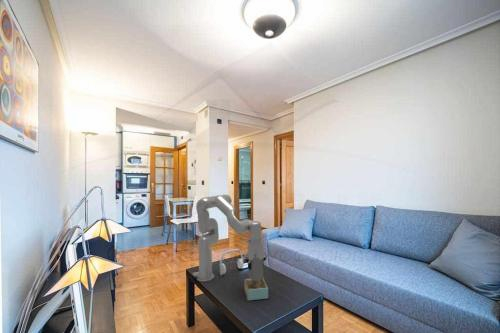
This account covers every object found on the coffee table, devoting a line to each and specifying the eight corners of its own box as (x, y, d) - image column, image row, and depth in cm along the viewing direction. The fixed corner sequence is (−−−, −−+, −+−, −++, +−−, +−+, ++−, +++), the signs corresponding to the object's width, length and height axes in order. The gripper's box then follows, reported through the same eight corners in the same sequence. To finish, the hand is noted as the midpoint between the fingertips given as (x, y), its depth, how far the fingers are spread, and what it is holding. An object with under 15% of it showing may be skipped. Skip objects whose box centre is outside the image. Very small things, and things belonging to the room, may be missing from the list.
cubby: (247, 300, 132) (247, 289, 133) (244, 289, 145) (244, 279, 145) (267, 298, 135) (267, 287, 135) (263, 287, 147) (263, 277, 147)
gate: (247, 300, 131) (247, 290, 131) (247, 299, 132) (247, 289, 132) (268, 298, 134) (268, 288, 134) (267, 297, 135) (267, 287, 135)
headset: (222, 277, 161) (222, 253, 161) (218, 274, 167) (217, 250, 167) (244, 270, 172) (244, 248, 172) (240, 267, 178) (240, 245, 178)
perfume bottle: (263, 277, 139) (262, 249, 139) (254, 281, 135) (254, 251, 135) (256, 274, 144) (256, 246, 145) (248, 277, 140) (248, 248, 141)
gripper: (242, 243, 135) (243, 272, 134) (269, 241, 138) (270, 270, 137) (241, 239, 142) (241, 267, 142) (267, 238, 145) (267, 265, 145)
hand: (255, 268), depth 139 cm, fingers closed on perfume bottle, 7 cm apart
